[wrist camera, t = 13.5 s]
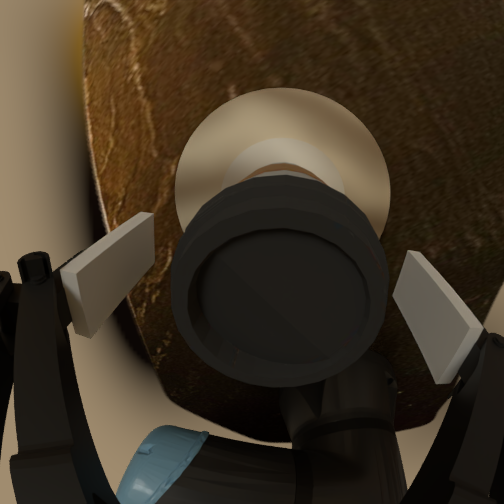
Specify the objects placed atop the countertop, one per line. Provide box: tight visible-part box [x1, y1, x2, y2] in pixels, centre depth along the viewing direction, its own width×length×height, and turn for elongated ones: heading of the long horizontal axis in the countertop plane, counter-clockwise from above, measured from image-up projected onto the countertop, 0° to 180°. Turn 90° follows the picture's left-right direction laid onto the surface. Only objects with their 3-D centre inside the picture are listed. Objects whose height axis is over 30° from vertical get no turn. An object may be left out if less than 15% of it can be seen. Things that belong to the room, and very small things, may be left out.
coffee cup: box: [171, 162, 389, 387], centre depth 16 cm, size 8×8×15 cm
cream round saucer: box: [175, 88, 390, 239], centre depth 24 cm, size 18×18×2 cm
